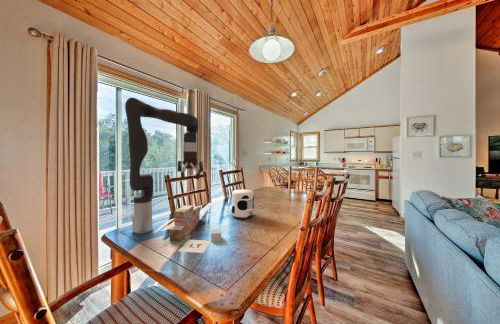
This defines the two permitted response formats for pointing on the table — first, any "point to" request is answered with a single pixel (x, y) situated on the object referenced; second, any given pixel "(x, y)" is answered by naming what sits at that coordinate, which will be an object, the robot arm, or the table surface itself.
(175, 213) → the stack of blocks
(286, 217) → the table surface
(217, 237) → the grey block
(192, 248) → the tile
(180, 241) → the grey-green mat
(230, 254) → the table surface
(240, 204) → the milk container
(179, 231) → the walnut block
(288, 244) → the table surface
